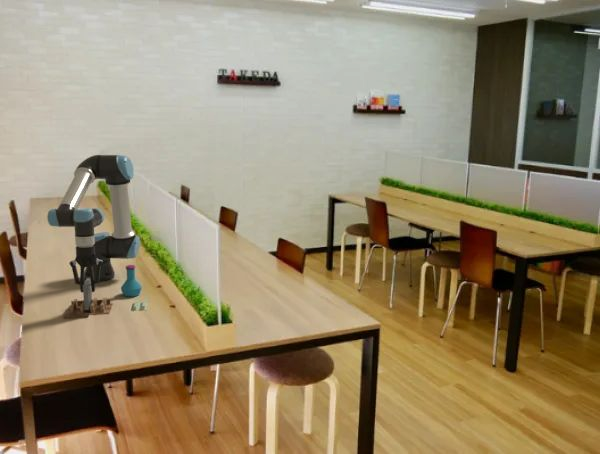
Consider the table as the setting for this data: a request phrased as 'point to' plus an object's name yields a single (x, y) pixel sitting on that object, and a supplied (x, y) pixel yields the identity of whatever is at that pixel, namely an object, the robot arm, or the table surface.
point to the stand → (140, 305)
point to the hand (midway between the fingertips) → (88, 299)
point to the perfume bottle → (131, 283)
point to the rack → (95, 308)
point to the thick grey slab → (87, 294)
